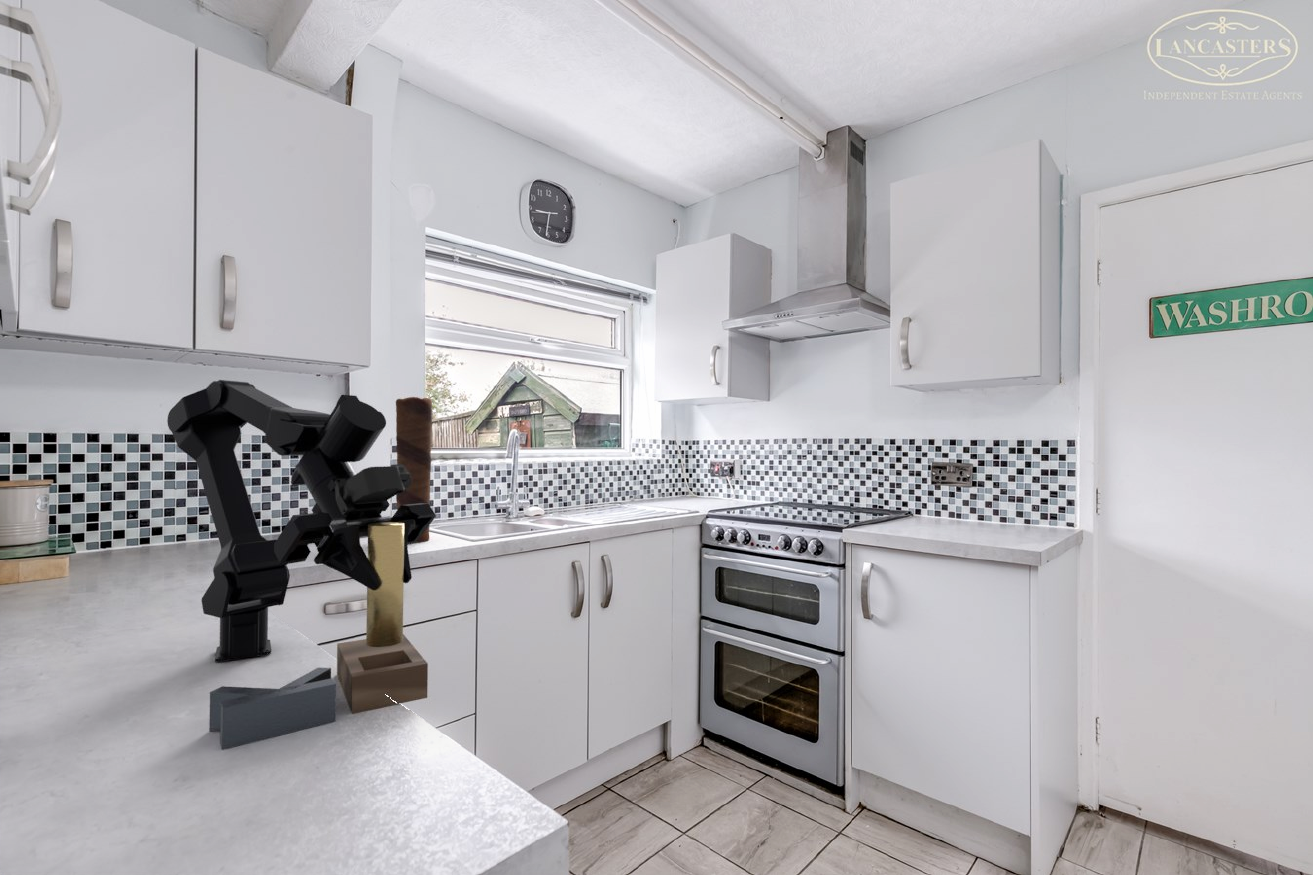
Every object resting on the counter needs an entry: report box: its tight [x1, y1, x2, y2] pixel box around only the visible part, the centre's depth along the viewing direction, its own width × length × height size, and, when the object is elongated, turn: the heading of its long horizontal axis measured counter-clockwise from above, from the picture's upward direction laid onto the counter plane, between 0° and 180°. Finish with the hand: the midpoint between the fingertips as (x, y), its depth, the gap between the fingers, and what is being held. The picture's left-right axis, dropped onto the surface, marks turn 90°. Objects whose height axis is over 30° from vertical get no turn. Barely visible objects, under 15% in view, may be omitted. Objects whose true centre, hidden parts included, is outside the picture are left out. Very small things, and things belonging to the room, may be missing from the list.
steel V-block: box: [208, 667, 337, 750], centre depth 66 cm, size 7×11×4 cm, turn 129°
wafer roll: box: [395, 396, 433, 543], centre depth 196 cm, size 10×11×45 cm
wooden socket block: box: [336, 633, 429, 714], centre depth 77 cm, size 14×8×4 cm, turn 33°
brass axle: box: [365, 522, 405, 647], centre depth 74 cm, size 4×4×14 cm
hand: (393, 584), depth 74 cm, fingers closed on brass axle, 4 cm apart
